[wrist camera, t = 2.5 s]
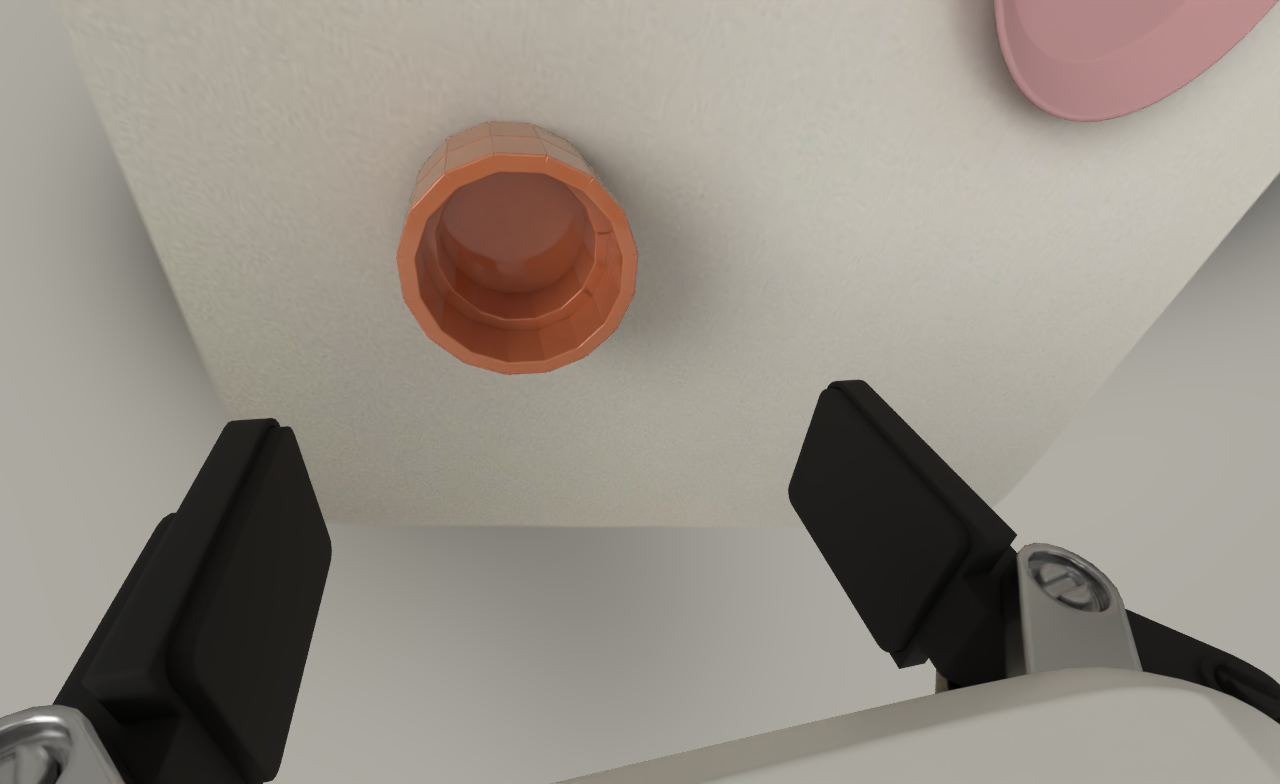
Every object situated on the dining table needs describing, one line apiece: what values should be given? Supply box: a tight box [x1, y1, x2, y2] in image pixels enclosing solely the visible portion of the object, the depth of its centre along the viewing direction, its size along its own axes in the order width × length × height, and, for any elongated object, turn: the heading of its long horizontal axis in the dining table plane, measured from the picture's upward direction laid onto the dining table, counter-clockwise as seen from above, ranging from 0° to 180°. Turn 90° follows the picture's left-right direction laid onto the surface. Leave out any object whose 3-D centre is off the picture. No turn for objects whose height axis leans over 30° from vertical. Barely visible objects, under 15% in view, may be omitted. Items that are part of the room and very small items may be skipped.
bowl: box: [397, 122, 638, 375], centre depth 19 cm, size 7×7×5 cm
